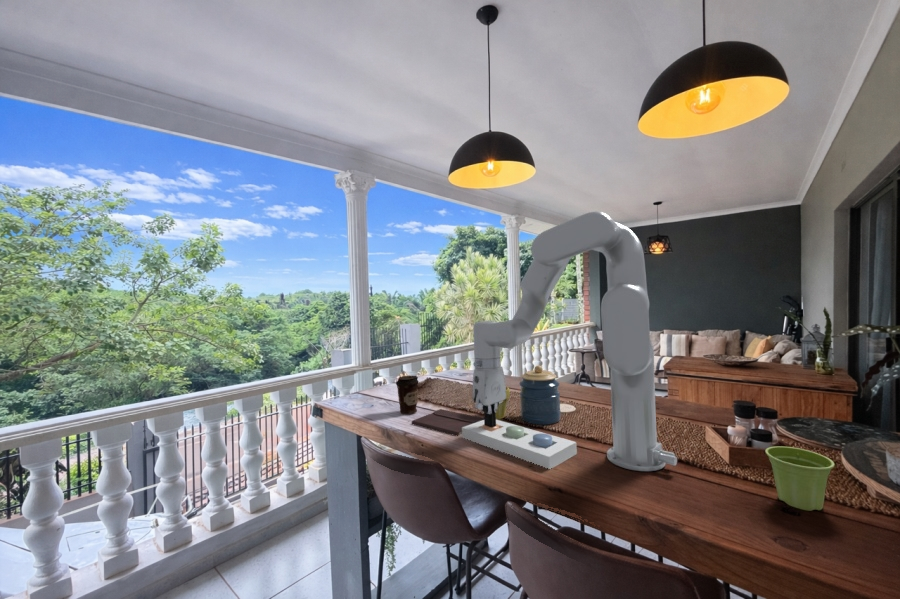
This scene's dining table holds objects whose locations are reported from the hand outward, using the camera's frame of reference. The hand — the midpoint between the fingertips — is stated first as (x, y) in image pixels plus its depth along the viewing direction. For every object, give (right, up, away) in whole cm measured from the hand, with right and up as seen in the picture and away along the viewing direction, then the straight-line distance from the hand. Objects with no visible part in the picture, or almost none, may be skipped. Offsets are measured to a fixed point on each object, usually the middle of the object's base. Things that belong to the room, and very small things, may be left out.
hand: (490, 425), depth 110 cm
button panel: (+6, -3, -7) cm, 10 cm away
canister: (+18, -3, +14) cm, 23 cm away
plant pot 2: (+54, -1, -40) cm, 67 cm away
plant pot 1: (+4, -3, +19) cm, 19 cm away
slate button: (+12, -1, -14) cm, 18 cm away
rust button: (0, -3, 0) cm, 3 cm away
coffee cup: (-27, -5, +28) cm, 39 cm away
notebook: (-12, -5, +14) cm, 19 cm away
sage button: (+6, -2, -7) cm, 9 cm away
